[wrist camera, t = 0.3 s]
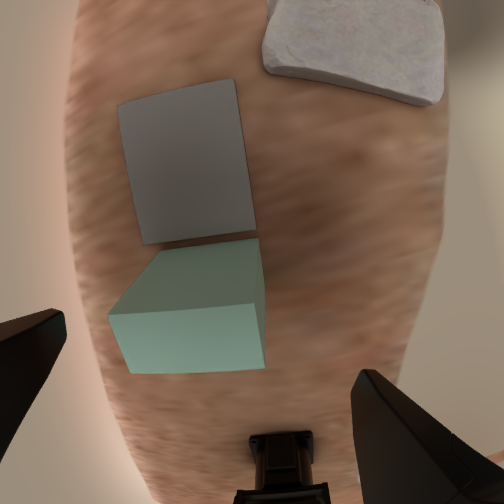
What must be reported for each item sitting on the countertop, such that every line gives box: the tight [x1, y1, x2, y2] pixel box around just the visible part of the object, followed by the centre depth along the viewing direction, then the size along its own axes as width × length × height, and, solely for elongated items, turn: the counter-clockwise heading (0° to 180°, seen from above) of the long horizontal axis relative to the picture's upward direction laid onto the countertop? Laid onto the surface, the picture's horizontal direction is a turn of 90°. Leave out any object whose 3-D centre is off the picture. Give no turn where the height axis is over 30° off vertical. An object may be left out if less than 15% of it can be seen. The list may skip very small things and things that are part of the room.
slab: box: [107, 238, 265, 374], centre depth 18 cm, size 4×7×9 cm, turn 98°
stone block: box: [261, 0, 445, 107], centre depth 15 cm, size 12×5×10 cm
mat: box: [117, 78, 257, 245], centre depth 20 cm, size 10×8×1 cm
